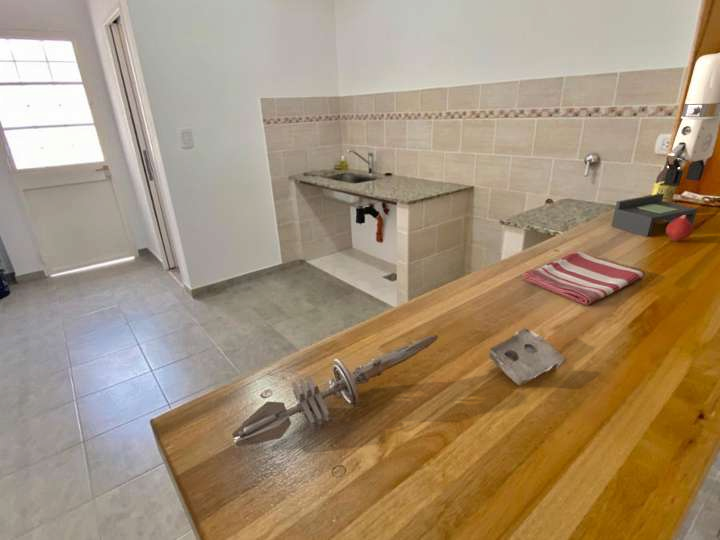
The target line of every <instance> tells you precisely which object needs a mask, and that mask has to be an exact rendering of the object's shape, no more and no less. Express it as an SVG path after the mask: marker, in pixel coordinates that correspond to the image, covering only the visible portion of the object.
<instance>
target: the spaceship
mask: <svg viewBox="0 0 720 540" xmlns="http://www.w3.org/2000/svg"><path fill="white" fill-rule="evenodd" d="M438 338H439V336H438V335H437V334H433V335H430V336H429V335H428V336H427V337H423V338H420V339H419V340H416V341H415V342H414V343H413V342H412V343H411V344H408V345H405V346H402V347H399V348H397V349H394V350H392V351H390V352H388V353H386V354H384V355H382V356H380V357H377V358H373V359H372V360H370V362H369V363H368V364H366V365H359V366H357V367H356V368H354V371H352V372H351V371H350V370H349V369H348V367H347V366H346V365H345V364H344V362H342V360H340V359H339V358H335V359H333V361H332V372H333V376H334V378H330V379H329V380H328V385H329V387H327V388H326V389H323V390H321V389H320V388H319V386H318V385H316V384H315V382H314V381H313V380H312V378H311V376H310V375H307V376H305V379H306V381H307V382H305V381H304V379H303V378H300V379H298V382H299V384H300V386H298V385H297V383H296V382H295V381H293V382H292V383H291V386H292V388H293V389H292V392H293V394H294V398H295V399H296V401H295V404H292V406H289V407H287V408H286V405H285V403H284V402H283V401H282V402H281V401H266V402H265V403H263V404H262V405H261V406H260V407H259V408H258V409H257V410H255V411H254V412H253V413H252V414H251V415H250V416H249V417H247V418H246V419H245V420H244V421H242V423H241V425H240V426H238V428H237V429H236V430H234V431H233V432H232V434H231V435H232V438H234V443H235V445H236V447H242V446H247V445H250V446H252V445H257V444H260V443H265V442H271V441H273V440H279V439H282V438H283V436H284V435H285V433H286V432H287V431H288V430H289V427H290V426H291V425H292V421H291V419H290V417H292V416H294V415H296V414H301V415H302V416H303V415H304V416H303V417H304V418H305V420H306V422H307V424H308V426H309V428H310V429H311V430H313V429H315V428H316V426H315V424H314V422H316V423H317V425H318V426H321V425H322V424H323V422H322V420H321V419H322V418H323V420H324V421H325V422H328V421H329V420H330V418H329V416H328V415H330V412H329V410H328V407H327V405H326V403H325V401H324V400H325V399H326V398H328V397H330V396H332V395H333V396H334V397H336V398H337V399H341V398H342V397H343V398H344V399H345V401H346V402H347V403H348V404H349V405H350V406H351V407H353V408H354V409H358V408H359V407H360V404H361V400H360V395H359V390H358V387H357V385H359V384H367V383H369V381H370V379H372V378H375V377H379V376H381V375H382V374H383V372H385V371H387V370H389V369H392V368H393V367H395V366H397V365H400V364H401V363H403V362H405V361H407V360H409V359H411V358H412V357H414V356H416V355H417V354H418V353H420V352H422V351H424V350H425V349H428V348H429V347H431V345H432V344H434V343H435V342H436V341H437V340H438ZM281 437H282V438H281Z"/></svg>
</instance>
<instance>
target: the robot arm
mask: <svg viewBox="0 0 720 540" xmlns="http://www.w3.org/2000/svg"><path fill="white" fill-rule="evenodd" d="M680 119H682V120H681V122H680V124H679V127H678V129H677V133H676V135H675V138H674V142H673V145H672V149H671V151H670V152H669V153H668V155H667V156H668V166H667V169H668V170H667V174H666V178H665V181H664V185H669V186H677V187H679V186H680V184H681V181H682V176H683V173H684V170H683V168H684V167H685V165H686V164H687V162H690V163H689V165H688V168H687V170H686V171H687V172H686V175H685V179H686V180H689V181H695V182H699V181H701V180H702V177H703V173H704V170H705V167H706V165H707V162H708V159H709V158H711V157H712V156H713V153H714V150H715V146H716V142H717V139H718V134H719V129H720V52H718V53H710V54H703V55H701V56H700V57H698V58H697V59H696V61H695V65H694V68H693V71H692V75H691V79H690V82H689V86H688V90H687V94H686V98H685V102H684V106H683V110H682V112H681V117H680ZM679 162H680V163H679Z"/></svg>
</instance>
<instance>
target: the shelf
mask: <svg viewBox="0 0 720 540" xmlns="http://www.w3.org/2000/svg"><path fill="white" fill-rule="evenodd" d="M663 196H664V194H661V193H660V194H655V195H651V194H649V195H644V196H638V197H633V198H628V199H623V200H617V201H616V203H615V206H614V207H615V208H614V211H613V217H612V221H611V225H610V226H611V227H612V228H615V229H619V230H623V231H624V232H625V231H626V232H629V233H632V234H636V235H639V236H642V237H646V238H649V237H652V236H651V235H652V232H653V229H654V224H655V223H656V222H661V221H662V222H665V223H668V224H669V223H670V222H671V221H673V220H674V219H676V218H679V217H681V216H683V215H686V219H687V220H688V221H689V222H690V223H691V224H692V225H693V224H694V221H695V217H696V214H697V212H698V208H697V207H692V206H687V205H682V204H677V203H674V202H673V203H672V202H671V203H669V202H664V201H662V200H663Z"/></svg>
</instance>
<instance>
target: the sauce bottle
mask: <svg viewBox="0 0 720 540" xmlns="http://www.w3.org/2000/svg"><path fill="white" fill-rule="evenodd" d="M665 160H666V161H665V164H664V166H663V169H662V170H661V171H660V172H659V173H658V174H657V177H656V180H655V181H654V185H653V188H652V191H651V194H650V195H655V194H660V193H661V194H664V196H663V200H662V201H664V202H669V203H672V201H673V198H674V195H675V193H676V190H677V187H678V186H669V185H664V181H665V178H666V174H667V170H668V169H667V166H668V155H666V158H665ZM680 163H681V162H679V164H680Z"/></svg>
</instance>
